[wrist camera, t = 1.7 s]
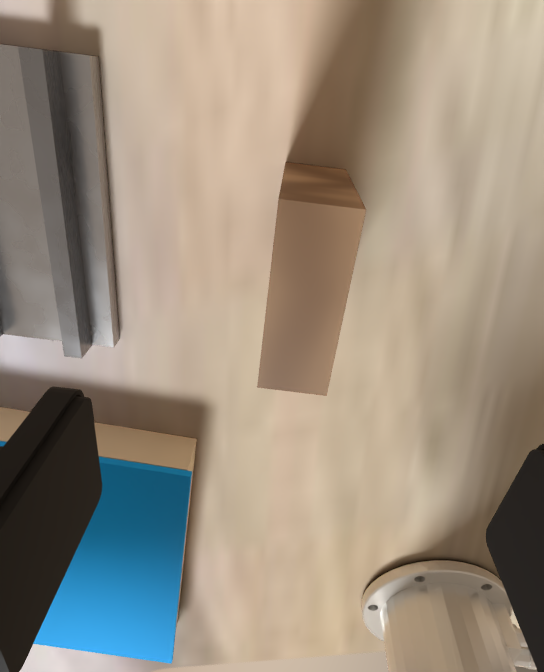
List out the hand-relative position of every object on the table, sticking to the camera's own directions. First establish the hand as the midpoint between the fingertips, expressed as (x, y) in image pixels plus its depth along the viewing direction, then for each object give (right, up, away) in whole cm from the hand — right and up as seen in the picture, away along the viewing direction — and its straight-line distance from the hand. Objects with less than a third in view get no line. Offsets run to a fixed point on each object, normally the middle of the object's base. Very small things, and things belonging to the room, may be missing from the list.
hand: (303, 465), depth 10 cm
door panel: (+1, +8, +14) cm, 16 cm away
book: (-16, -13, +28) cm, 35 cm away
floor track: (-14, +10, +14) cm, 22 cm away
